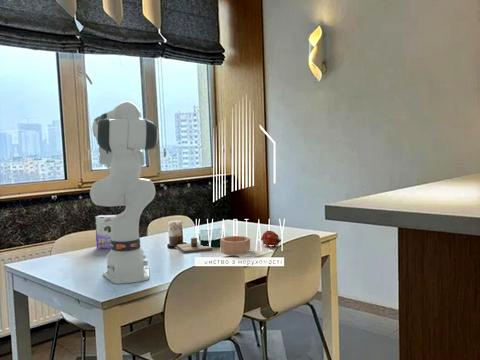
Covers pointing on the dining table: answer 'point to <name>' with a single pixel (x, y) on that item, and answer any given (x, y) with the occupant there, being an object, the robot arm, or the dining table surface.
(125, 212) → the robot arm
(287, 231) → the dining table surface
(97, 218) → the candy box
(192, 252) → the mat
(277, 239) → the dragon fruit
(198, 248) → the lid
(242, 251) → the bowl
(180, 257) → the dining table surface
